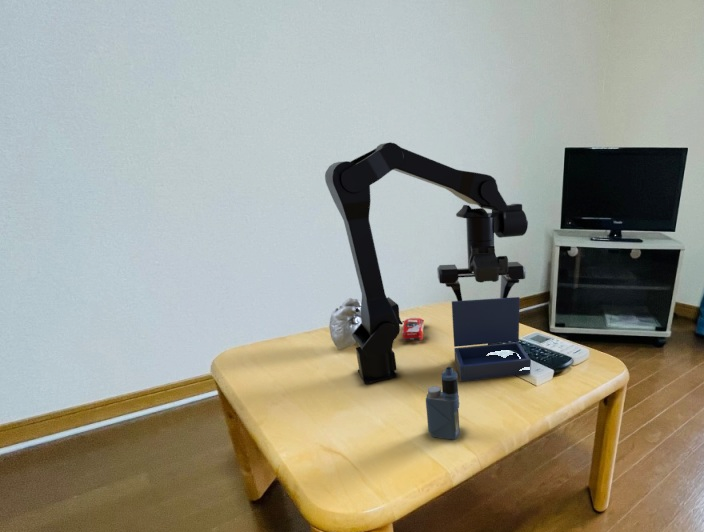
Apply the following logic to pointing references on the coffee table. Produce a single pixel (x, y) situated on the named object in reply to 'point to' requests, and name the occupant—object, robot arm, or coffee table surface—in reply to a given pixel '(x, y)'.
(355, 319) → the heart
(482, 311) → the lid
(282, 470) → the coffee table surface
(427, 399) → the vaping device
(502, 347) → the box
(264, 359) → the coffee table surface
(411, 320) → the race car
